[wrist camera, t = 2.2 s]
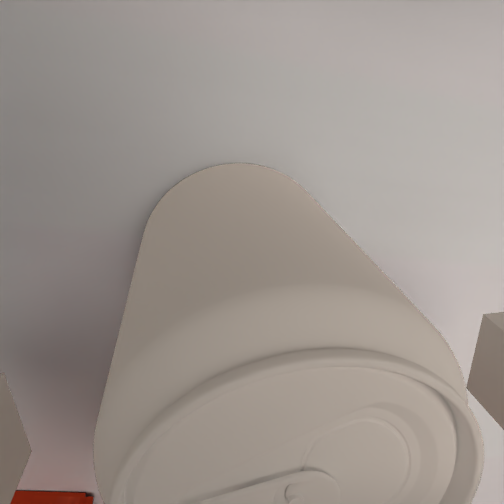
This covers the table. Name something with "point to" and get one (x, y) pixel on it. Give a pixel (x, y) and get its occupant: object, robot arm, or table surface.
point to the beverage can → (275, 363)
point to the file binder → (50, 498)
